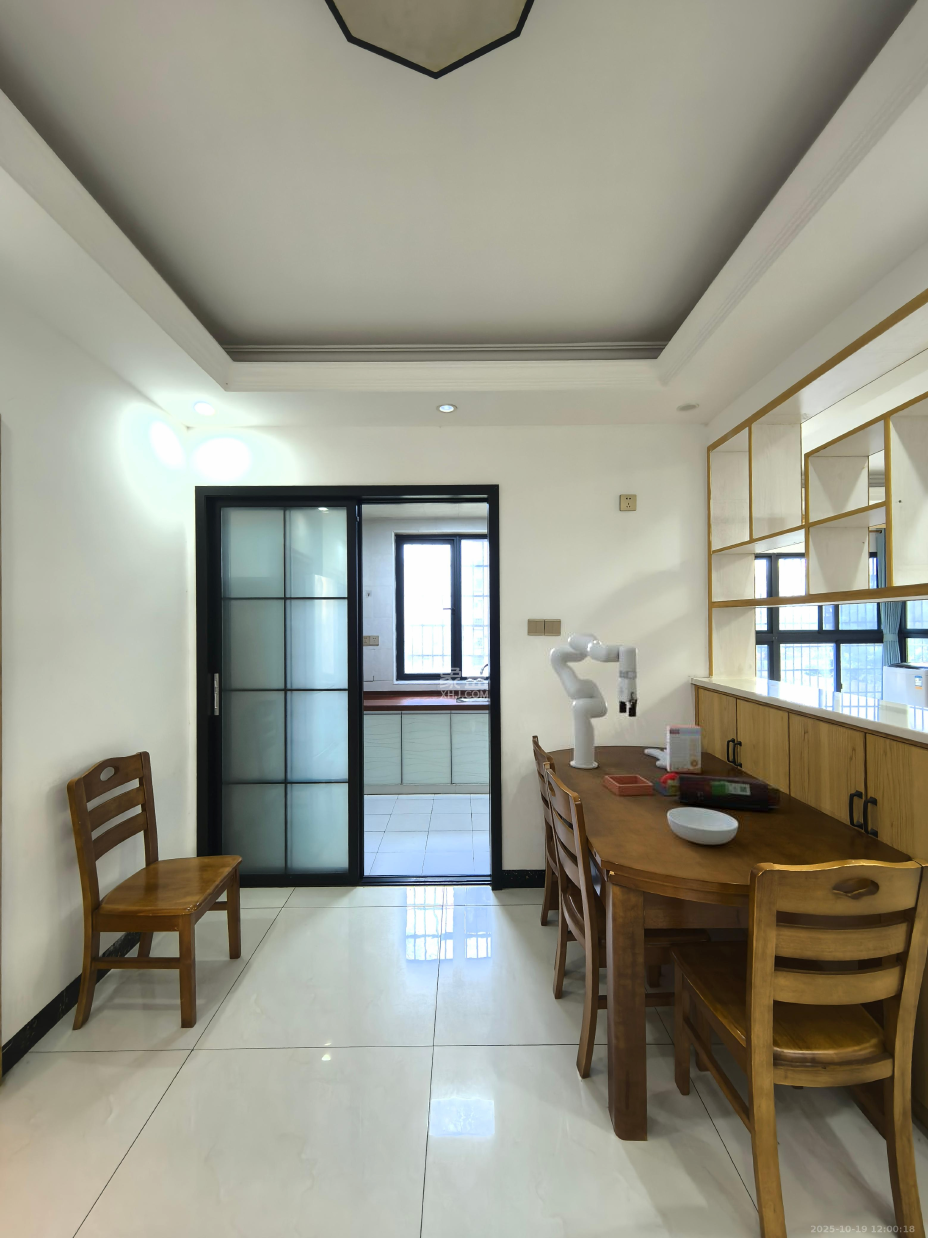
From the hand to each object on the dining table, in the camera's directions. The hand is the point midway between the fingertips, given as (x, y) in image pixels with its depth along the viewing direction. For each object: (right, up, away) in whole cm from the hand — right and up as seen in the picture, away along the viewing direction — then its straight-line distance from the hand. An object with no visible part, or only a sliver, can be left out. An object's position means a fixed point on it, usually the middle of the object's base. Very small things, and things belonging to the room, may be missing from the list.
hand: (627, 714), depth 254 cm
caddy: (-3, -28, -13) cm, 32 cm away
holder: (+31, -29, +36) cm, 55 cm away
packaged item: (+27, -29, -32) cm, 51 cm away
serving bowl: (+5, -29, -67) cm, 73 cm away
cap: (+15, -28, -12) cm, 34 cm away
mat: (+15, -29, -12) cm, 34 cm away
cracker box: (+30, -29, +16) cm, 44 cm away
